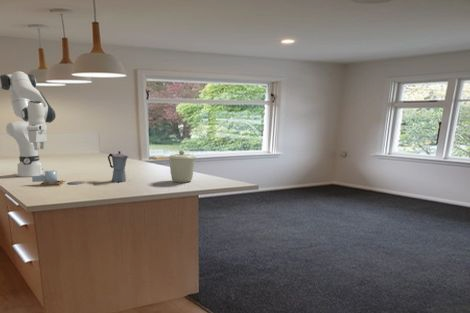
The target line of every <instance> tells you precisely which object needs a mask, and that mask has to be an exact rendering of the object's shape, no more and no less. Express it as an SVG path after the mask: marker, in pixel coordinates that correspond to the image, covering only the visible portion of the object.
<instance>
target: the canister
mask: <svg viewBox="0 0 470 313" xmlns="http://www.w3.org/2000/svg"><path fill="white" fill-rule="evenodd" d="M195 158H196V156H195V155H193V154H189V153H185V150H183V149H180V150H179V152H178V153H175V154H174V153H173V154H171V155H170V156H168V157H167V159H168V161H169V168H170V175H171V176H170V177H171V180H172V181H173V182H174V183H188V182H191V181H192V180H193V175H194V168H195Z"/></svg>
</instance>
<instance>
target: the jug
mask: <svg viewBox="0 0 470 313" xmlns="http://www.w3.org/2000/svg"><path fill="white" fill-rule="evenodd" d="M57 172H58V171H57V170H54V169H53V170H45V175H39V176H31V180H32V182H33V183H36V182H37V183H38V182H39V183H42V182H44V181H45V183H46V184H56V183H57V181H58V173H57Z"/></svg>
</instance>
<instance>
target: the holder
mask: <svg viewBox="0 0 470 313" xmlns="http://www.w3.org/2000/svg"><path fill="white" fill-rule="evenodd" d="M65 183H66V180H63V179H62V180H57V183H56V184H46V183H45V181H42V182H40V183H39V184H38V185H37V186H36V188H52V187H53V188H56V187H61V186H63V185H64V184H65Z"/></svg>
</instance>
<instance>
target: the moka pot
mask: <svg viewBox="0 0 470 313" xmlns="http://www.w3.org/2000/svg"><path fill="white" fill-rule="evenodd" d="M121 152H122V151H118V152H117V153H115V154H114V153H108V154H109V155H108V156H107V160H108V163H109V167H110V168H112V169H113V170H112V179H111V181H112V182H114V183H123V182H126V181H127V174H126V165H127V161H128V160H127V159H129V156H128V155H127V154H123V153H121Z"/></svg>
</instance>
